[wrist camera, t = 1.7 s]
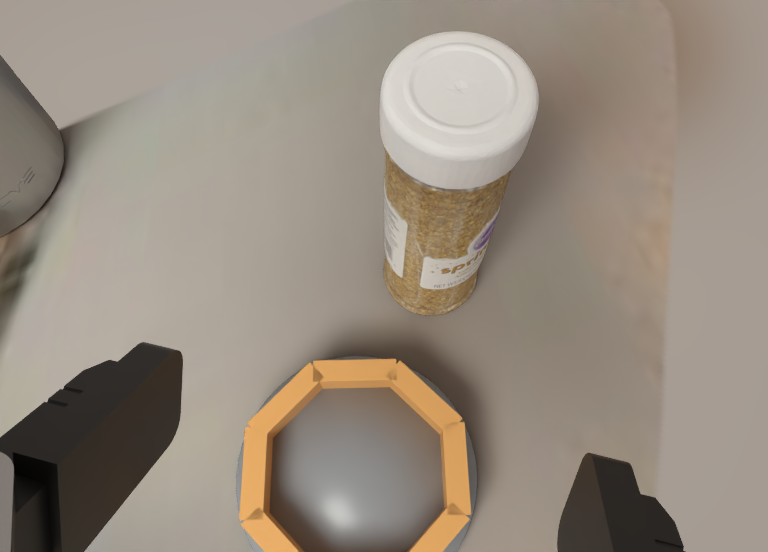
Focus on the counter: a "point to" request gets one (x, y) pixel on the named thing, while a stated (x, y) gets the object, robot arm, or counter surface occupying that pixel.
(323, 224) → the counter surface
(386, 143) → the spice jar
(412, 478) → the orange rimmed grey dish
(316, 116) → the counter surface
